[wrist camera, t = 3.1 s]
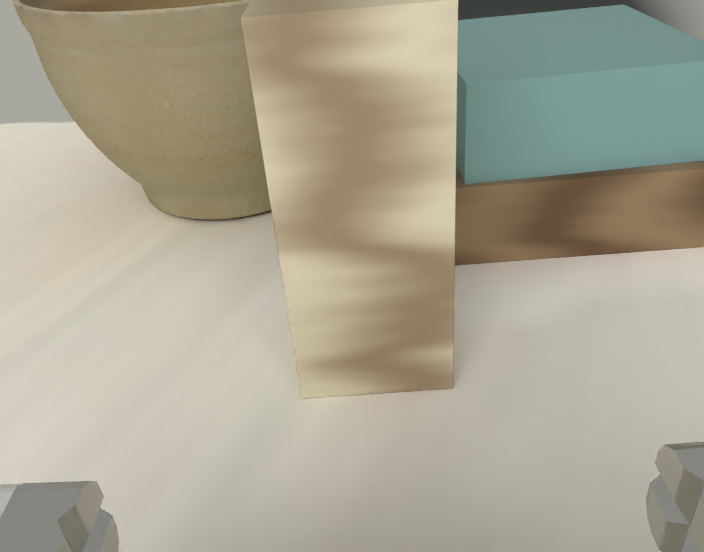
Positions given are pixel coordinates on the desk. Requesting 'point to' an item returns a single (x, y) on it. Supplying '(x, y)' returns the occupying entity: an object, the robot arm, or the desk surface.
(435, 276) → the ash pillar block
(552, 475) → the desk surface
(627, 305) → the desk surface
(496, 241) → the walnut base block
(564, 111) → the teal top block
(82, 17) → the planter bowl
